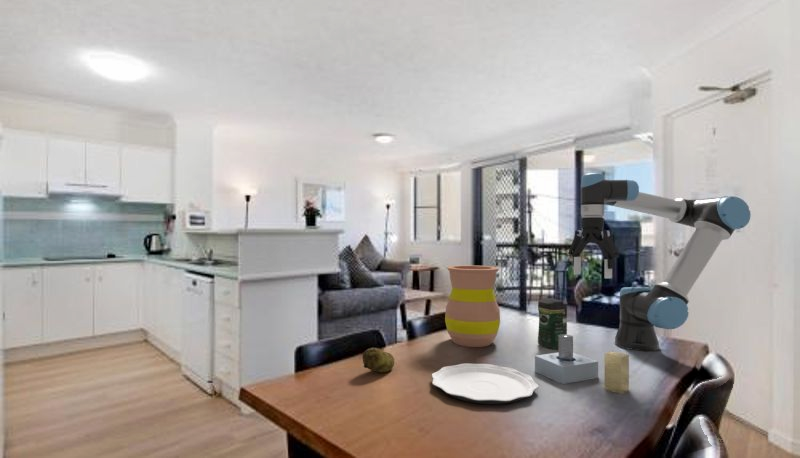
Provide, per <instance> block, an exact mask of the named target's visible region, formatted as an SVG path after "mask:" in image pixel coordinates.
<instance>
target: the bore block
mask: <svg viewBox="0 0 800 458" xmlns="http://www.w3.org/2000/svg"><path fill="white" fill-rule="evenodd" d="M534 372H535V373H538V374H540V375H542V376H544V377H546V378H549V379H551V380H553V381H556V382H557V383H559V384H562V385H565V384H571V383H577V382H582V381H588V380H593V379H594V380H595V379H599V361H598V360H595V359H592V358H589V357H587V356H584V355H580V354H578V353H575V352H573V361H562V360H559V351H557V352H551V353H545V354H539V355H537V354H536V355H534Z"/></svg>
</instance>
